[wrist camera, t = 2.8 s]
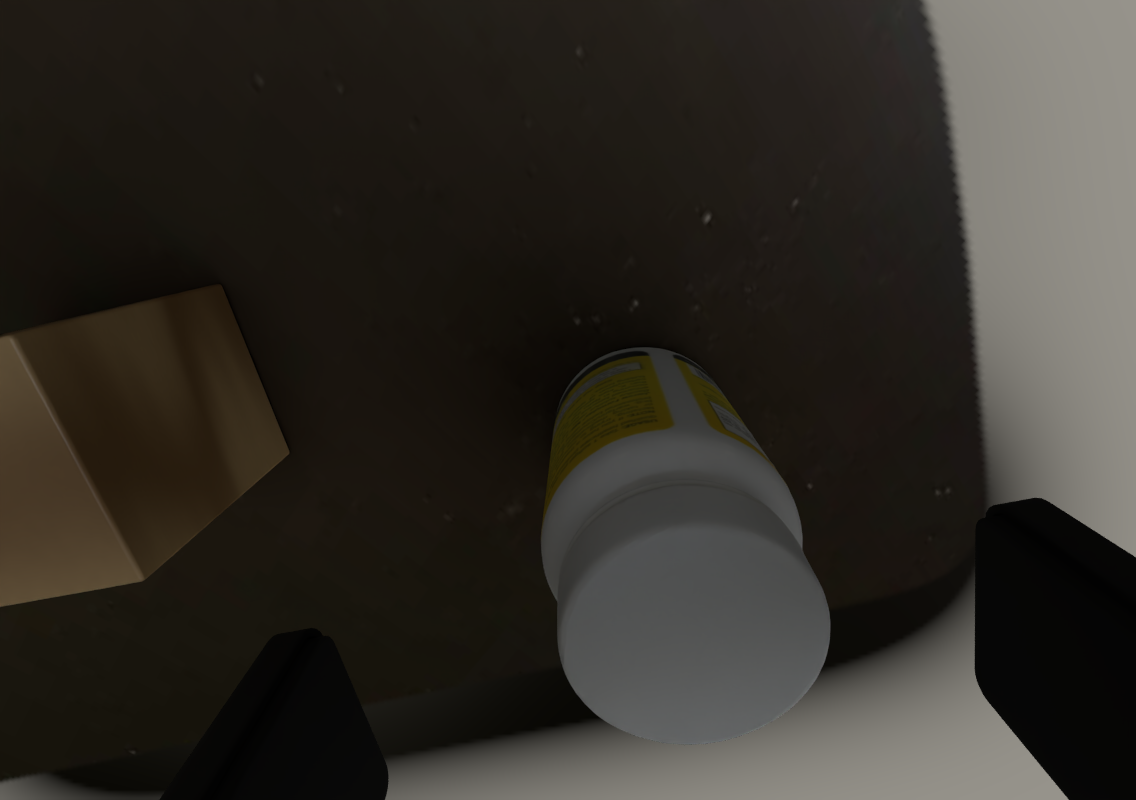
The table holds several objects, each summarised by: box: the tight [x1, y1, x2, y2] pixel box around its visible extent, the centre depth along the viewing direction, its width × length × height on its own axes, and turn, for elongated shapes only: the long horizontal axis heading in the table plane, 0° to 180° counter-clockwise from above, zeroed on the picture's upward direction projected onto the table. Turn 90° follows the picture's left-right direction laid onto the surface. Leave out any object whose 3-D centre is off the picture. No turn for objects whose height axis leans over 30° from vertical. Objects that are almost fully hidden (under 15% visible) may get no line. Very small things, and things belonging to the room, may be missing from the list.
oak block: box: [0, 284, 289, 607], centre depth 14 cm, size 5×5×6 cm
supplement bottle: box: [541, 347, 830, 745], centre depth 12 cm, size 5×5×8 cm
